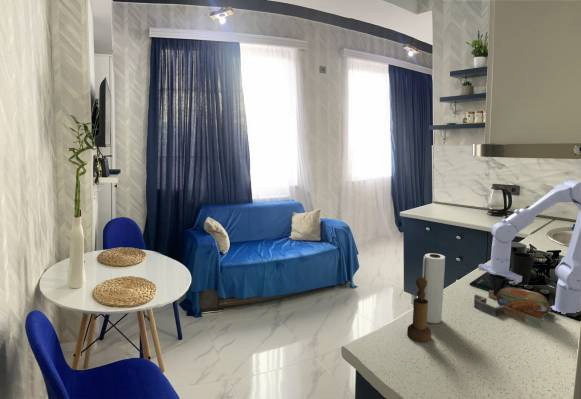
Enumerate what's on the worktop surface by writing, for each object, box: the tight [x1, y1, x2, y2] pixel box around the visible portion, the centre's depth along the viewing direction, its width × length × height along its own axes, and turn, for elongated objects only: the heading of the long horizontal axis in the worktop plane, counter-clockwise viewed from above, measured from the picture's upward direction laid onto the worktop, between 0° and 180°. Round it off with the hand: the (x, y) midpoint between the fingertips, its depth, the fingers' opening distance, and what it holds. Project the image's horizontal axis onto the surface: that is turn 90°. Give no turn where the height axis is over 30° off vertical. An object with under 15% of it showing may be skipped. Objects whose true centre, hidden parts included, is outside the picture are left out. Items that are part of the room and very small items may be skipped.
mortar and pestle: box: [407, 276, 432, 343], centre depth 111 cm, size 7×6×18 cm
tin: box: [496, 286, 551, 320], centre depth 125 cm, size 15×3×8 cm, turn 44°
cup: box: [511, 252, 535, 285], centre depth 150 cm, size 8×8×12 cm
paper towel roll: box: [422, 253, 446, 324], centre depth 121 cm, size 7×6×21 cm
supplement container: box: [509, 241, 528, 268], centre depth 166 cm, size 10×10×12 cm
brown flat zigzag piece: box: [473, 289, 556, 329], centre depth 128 cm, size 17×22×2 cm
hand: (497, 295), depth 132 cm, fingers closed
